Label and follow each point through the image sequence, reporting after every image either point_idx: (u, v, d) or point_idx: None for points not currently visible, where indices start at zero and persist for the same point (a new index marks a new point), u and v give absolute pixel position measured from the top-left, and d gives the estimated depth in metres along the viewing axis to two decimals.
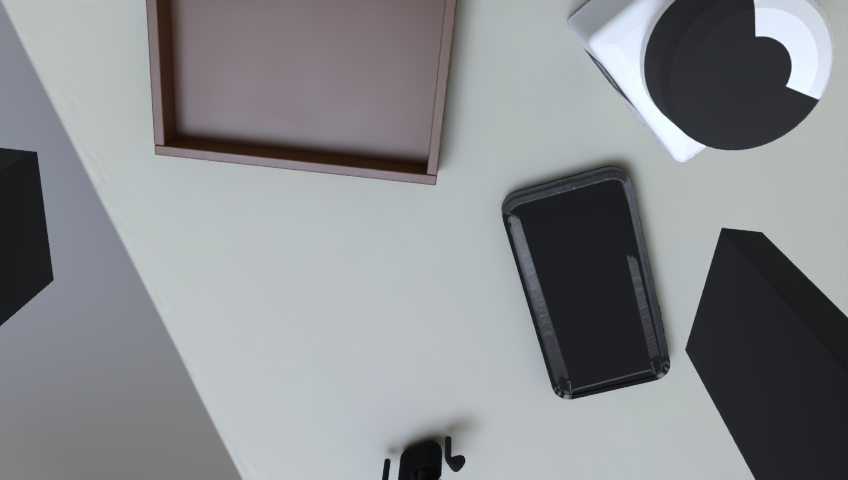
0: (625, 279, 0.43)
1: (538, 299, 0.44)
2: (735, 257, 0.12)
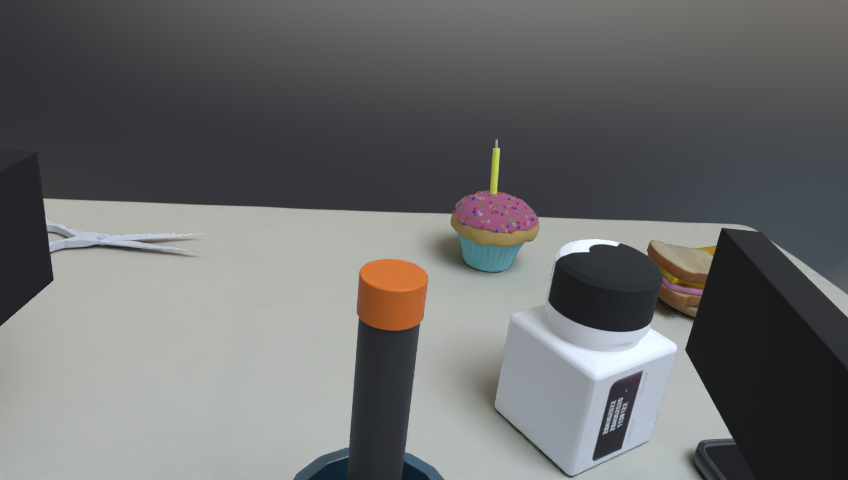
0: None
1: None
2: (735, 257, 0.12)
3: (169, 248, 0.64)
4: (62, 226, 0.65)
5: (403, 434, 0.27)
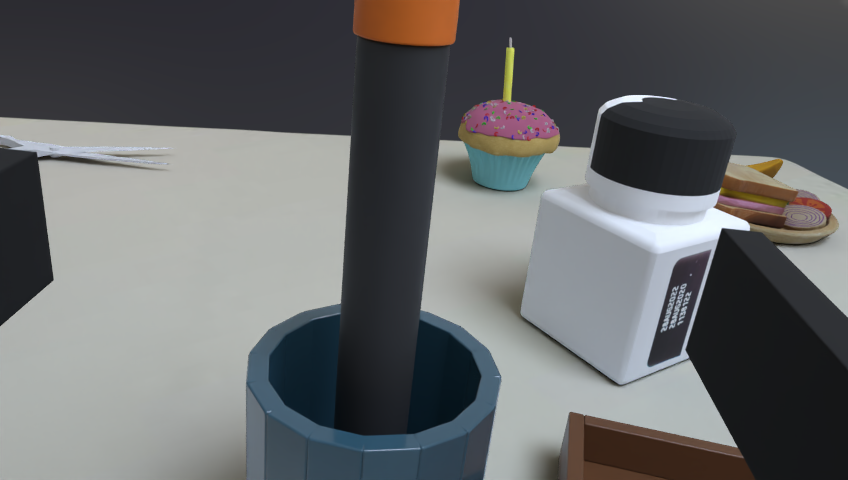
0: None
1: None
2: (735, 257, 0.12)
3: (133, 160, 0.55)
4: (9, 137, 0.56)
5: (423, 240, 0.18)
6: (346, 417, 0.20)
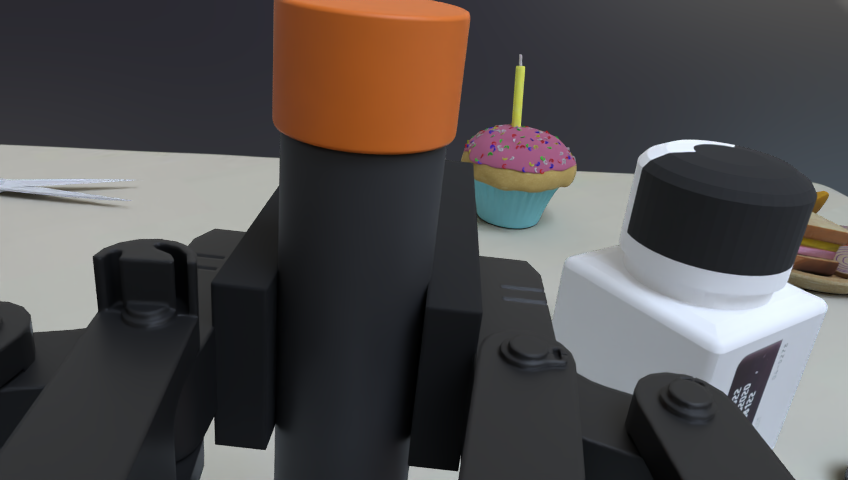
0: None
1: None
2: None
3: (87, 195, 0.48)
4: None
5: (402, 453, 0.11)
6: None
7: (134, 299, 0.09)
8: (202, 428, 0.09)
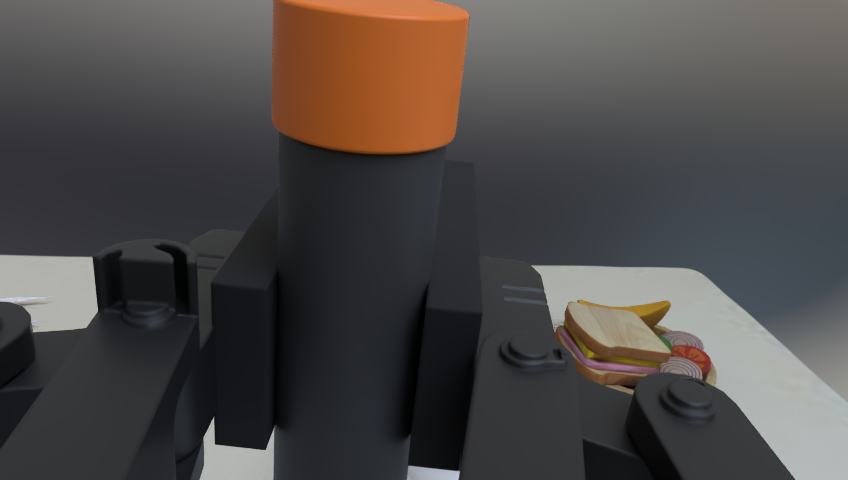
0: None
1: None
2: None
3: None
4: None
5: (402, 453, 0.11)
6: None
7: (134, 299, 0.09)
8: (202, 428, 0.09)
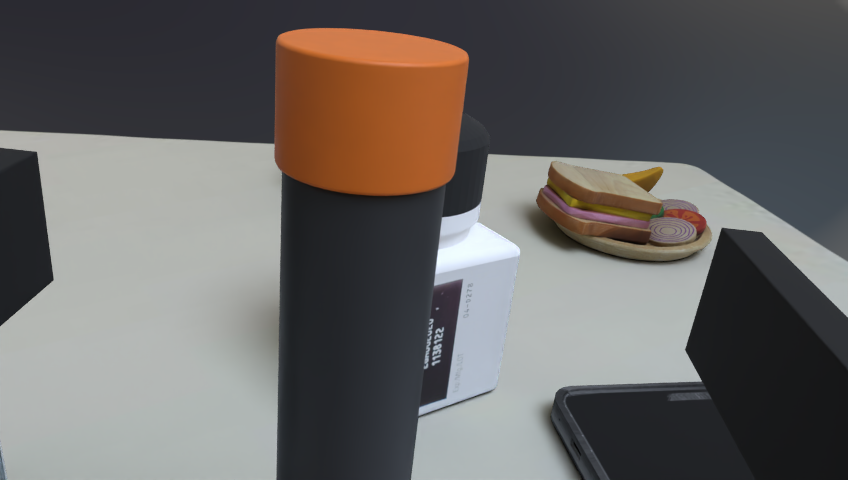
0: (703, 405, 0.32)
1: None
2: (735, 257, 0.12)
3: None
4: None
5: None
6: None
7: None
8: None
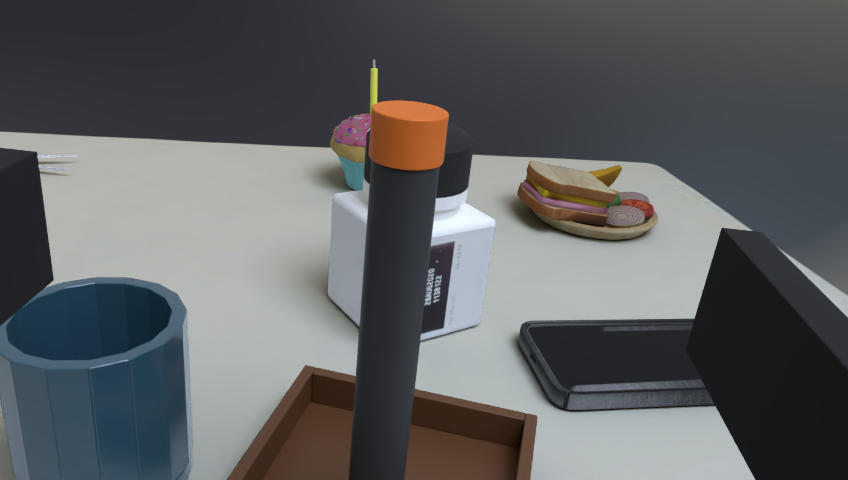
0: (627, 334, 0.45)
1: (667, 384, 0.40)
2: (735, 257, 0.12)
3: (40, 166, 0.64)
4: None
5: (420, 304, 0.24)
6: (361, 436, 0.26)
7: None
8: None
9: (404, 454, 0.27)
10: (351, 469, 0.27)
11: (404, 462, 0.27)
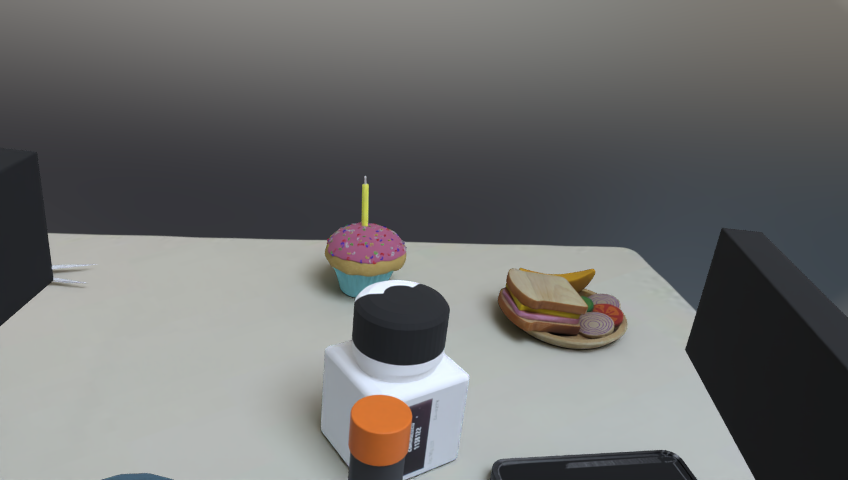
0: (588, 471, 0.51)
1: None
2: (735, 257, 0.12)
3: (57, 279, 0.69)
4: None
5: None
6: None
7: None
8: None
9: None
10: None
11: None
